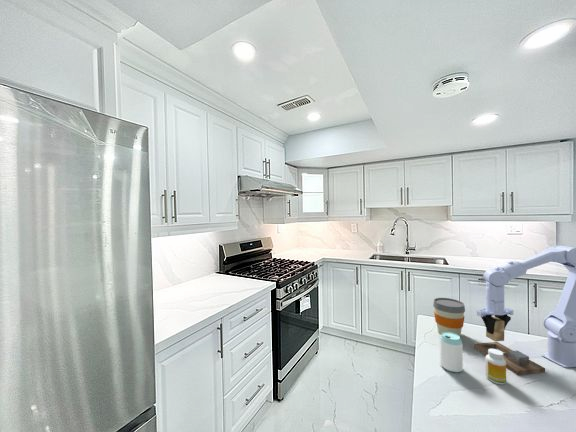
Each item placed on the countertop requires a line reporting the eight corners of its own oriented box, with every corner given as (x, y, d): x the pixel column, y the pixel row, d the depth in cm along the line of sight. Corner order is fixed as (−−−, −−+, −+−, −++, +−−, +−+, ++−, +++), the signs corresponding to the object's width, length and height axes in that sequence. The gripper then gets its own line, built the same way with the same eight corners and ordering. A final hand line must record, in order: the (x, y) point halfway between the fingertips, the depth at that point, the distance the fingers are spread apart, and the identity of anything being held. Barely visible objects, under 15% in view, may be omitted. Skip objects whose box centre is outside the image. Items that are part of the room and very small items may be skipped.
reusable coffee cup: (468, 333, 115) (467, 301, 115) (461, 343, 107) (461, 309, 107) (437, 325, 124) (437, 295, 124) (429, 333, 116) (429, 302, 116)
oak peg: (494, 335, 102) (494, 316, 102) (504, 340, 98) (504, 321, 98) (486, 336, 102) (486, 317, 101) (495, 341, 98) (495, 321, 98)
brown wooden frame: (497, 345, 105) (497, 341, 105) (545, 372, 87) (545, 368, 87) (473, 347, 104) (473, 343, 104) (517, 375, 86) (517, 370, 86)
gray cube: (517, 362, 93) (517, 350, 93) (528, 368, 89) (528, 356, 89) (508, 363, 93) (508, 351, 93) (519, 369, 89) (519, 357, 89)
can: (463, 376, 86) (462, 342, 86) (439, 369, 90) (439, 337, 90) (462, 365, 92) (461, 333, 92) (440, 359, 96) (439, 329, 96)
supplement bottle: (510, 386, 81) (510, 356, 81) (491, 384, 82) (491, 355, 82) (499, 375, 86) (499, 348, 86) (482, 373, 87) (482, 346, 87)
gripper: (501, 295, 104) (501, 326, 105) (470, 297, 103) (470, 329, 103) (518, 301, 97) (518, 335, 98) (485, 303, 96) (485, 337, 96)
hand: (495, 332), depth 100 cm, fingers closed on oak peg, 4 cm apart
